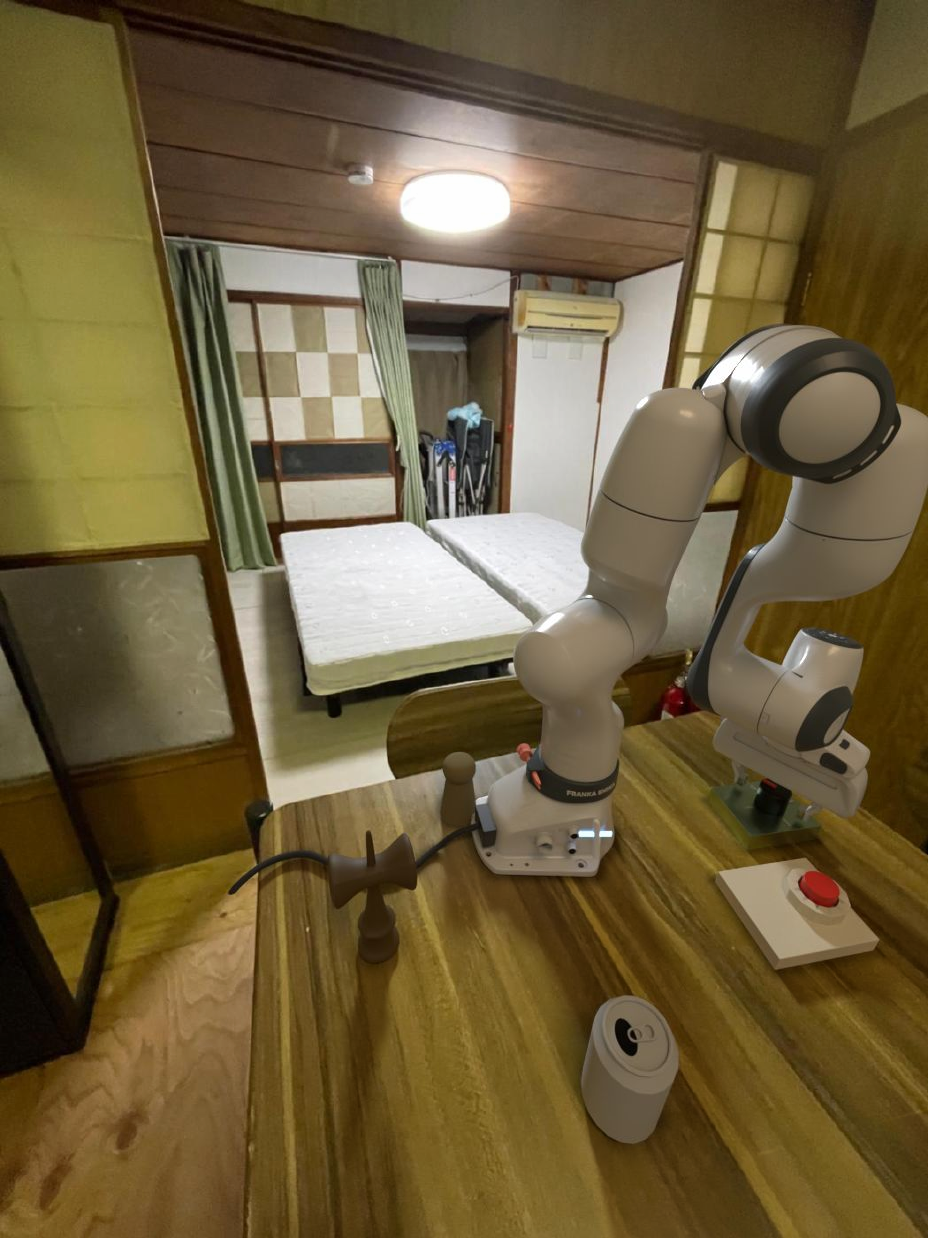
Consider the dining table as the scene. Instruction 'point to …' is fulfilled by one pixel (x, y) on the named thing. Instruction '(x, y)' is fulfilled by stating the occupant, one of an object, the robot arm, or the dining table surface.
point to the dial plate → (759, 818)
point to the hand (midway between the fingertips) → (769, 799)
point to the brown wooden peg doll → (458, 789)
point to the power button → (819, 888)
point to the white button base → (792, 915)
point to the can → (628, 1068)
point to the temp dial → (772, 797)
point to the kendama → (373, 892)
